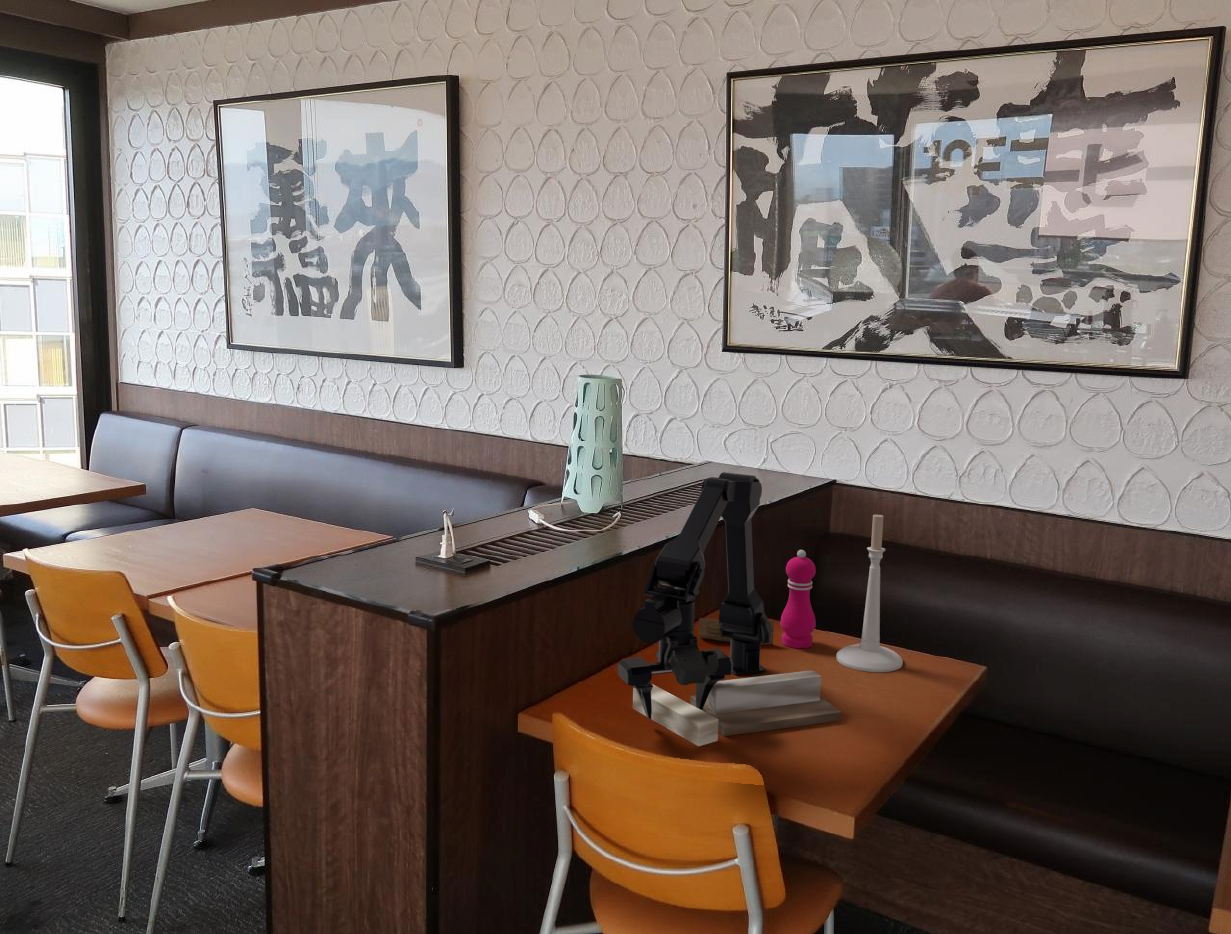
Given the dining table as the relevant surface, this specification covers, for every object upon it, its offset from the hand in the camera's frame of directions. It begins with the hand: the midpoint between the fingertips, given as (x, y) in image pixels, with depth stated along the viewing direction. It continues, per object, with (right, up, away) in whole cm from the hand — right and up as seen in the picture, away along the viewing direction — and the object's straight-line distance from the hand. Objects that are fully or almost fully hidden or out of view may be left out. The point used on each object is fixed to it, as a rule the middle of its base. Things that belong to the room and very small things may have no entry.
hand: (674, 715), depth 175 cm
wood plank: (+15, +5, +42) cm, 45 cm away
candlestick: (+41, +3, +32) cm, 52 cm away
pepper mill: (+28, +5, +41) cm, 50 cm away
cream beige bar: (0, -2, 0) cm, 2 cm away
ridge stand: (+16, -1, +6) cm, 17 cm away
